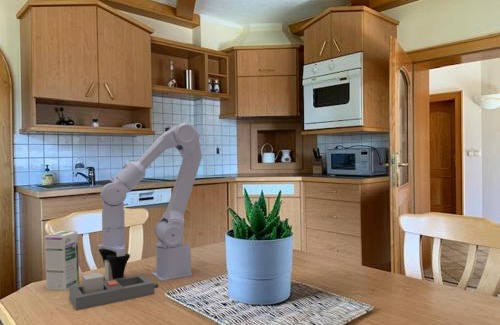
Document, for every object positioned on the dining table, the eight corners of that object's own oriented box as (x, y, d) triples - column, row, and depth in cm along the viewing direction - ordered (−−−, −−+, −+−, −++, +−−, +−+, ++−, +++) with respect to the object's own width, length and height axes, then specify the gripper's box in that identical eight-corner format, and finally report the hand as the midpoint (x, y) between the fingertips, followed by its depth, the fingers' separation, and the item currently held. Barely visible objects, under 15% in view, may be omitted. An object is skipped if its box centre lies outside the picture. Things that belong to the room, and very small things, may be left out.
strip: (151, 283, 105) (151, 261, 105) (163, 292, 98) (163, 269, 97) (69, 299, 94) (69, 274, 94) (76, 311, 86) (75, 284, 86)
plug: (119, 279, 108) (119, 256, 108) (123, 283, 104) (123, 259, 104) (104, 281, 105) (104, 258, 105) (108, 286, 102) (108, 261, 102)
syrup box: (65, 291, 99) (64, 235, 99) (45, 290, 100) (44, 234, 100) (79, 284, 105) (78, 230, 104) (60, 283, 106) (59, 230, 106)
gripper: (92, 225, 108) (92, 273, 109) (104, 233, 96) (105, 287, 97) (117, 222, 112) (118, 268, 113) (132, 230, 100) (133, 282, 100)
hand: (114, 277), depth 105 cm, fingers open, 7 cm apart
